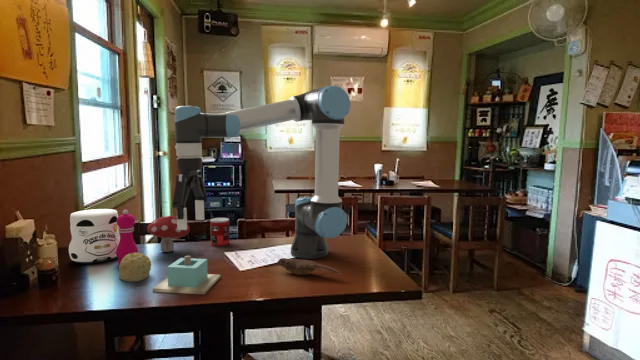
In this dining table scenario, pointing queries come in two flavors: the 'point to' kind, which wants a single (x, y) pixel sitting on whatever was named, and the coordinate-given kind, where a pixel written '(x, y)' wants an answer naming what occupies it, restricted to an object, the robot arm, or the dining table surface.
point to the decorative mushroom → (166, 231)
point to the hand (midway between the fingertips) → (191, 224)
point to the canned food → (219, 231)
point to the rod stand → (200, 289)
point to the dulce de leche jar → (94, 236)
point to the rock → (134, 267)
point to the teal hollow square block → (187, 273)
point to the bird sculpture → (303, 266)
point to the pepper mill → (125, 236)
